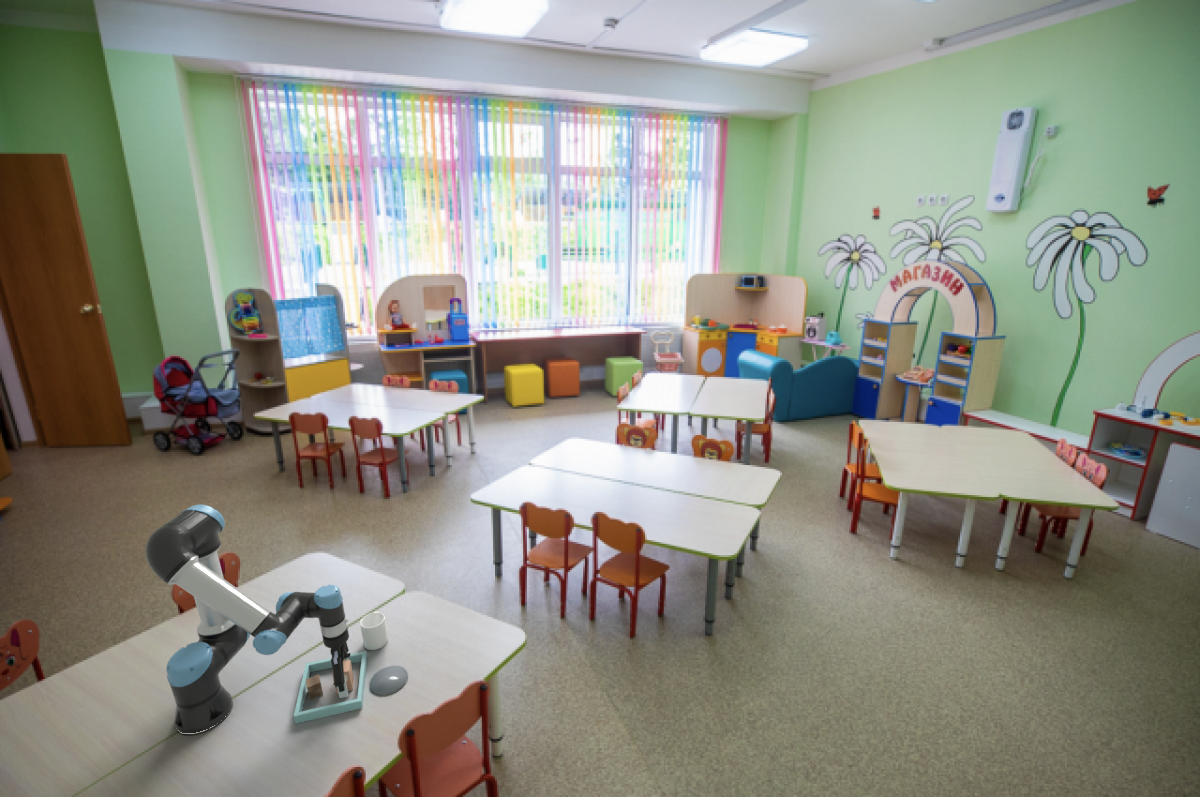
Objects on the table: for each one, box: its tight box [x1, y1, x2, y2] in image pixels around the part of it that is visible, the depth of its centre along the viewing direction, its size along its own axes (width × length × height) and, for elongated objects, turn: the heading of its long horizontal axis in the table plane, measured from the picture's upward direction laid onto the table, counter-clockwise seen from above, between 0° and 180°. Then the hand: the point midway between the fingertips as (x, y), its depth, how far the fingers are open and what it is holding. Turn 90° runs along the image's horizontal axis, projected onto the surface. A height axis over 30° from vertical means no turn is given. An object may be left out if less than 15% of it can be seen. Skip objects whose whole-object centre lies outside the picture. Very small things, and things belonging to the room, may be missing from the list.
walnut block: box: [306, 674, 324, 700], centre depth 188 cm, size 4×4×5 cm
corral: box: [293, 650, 368, 724], centre depth 190 cm, size 19×22×3 cm
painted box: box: [332, 660, 355, 694], centre depth 190 cm, size 5×5×8 cm
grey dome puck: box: [369, 665, 409, 696], centre depth 193 cm, size 12×12×1 cm
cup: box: [359, 611, 389, 651], centre depth 210 cm, size 8×12×10 cm
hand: (345, 685), depth 191 cm, fingers open, 9 cm apart
